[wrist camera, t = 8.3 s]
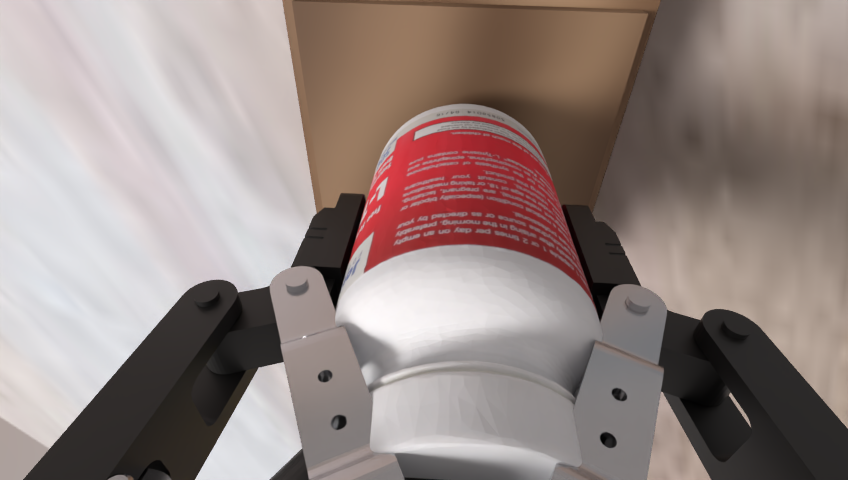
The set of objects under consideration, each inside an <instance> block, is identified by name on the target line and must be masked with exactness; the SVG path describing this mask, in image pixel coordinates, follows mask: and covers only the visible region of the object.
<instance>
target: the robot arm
mask: <svg viewBox="0 0 848 480" xmlns="http://www.w3.org/2000/svg"><path fill="white" fill-rule="evenodd" d="M365 204H366V197H365V194H356V193H341V194H340V196H339V199H338V201H337V204H336V207H335V208H326V207H324V208H323V209H322V210H321V211H319V212H318V213H317V214H316V215H315V216H314V217H313V219H312V221H311V223H310V226H309V229H308V230H307V232H306V235H305V238H304V239H303V241H302V244H301V246H300V248H299V250H298V253H297V255H296V257H295V259H294V262H293V264H292V266H291V268H289V269H286V270H284V271H282V272H280V273H279V274H278V275H276V276H275V277H274V278H273V280H272V281H271V284H270V286H268V287H265V288H261V289H255V290H250V291H244V292H239V293H238V291H237V289H236V287H235V286H234V285H233V284H232V283H231V282H228V281H225V280H210V281H206V282H203V283H200V284H198V285H196V286H194V287H192V288H190V289H189V290H188V291H187V292H186V293H185V294H184V295H183V296H182V297H181V298H180V299H179V300H178V301H177V303H176V304H175V305H174V306H173V307H172V308H171V309H170V311H169V312H168V313H167V314H166V315H165V316H164V318H163V319H162V320H161V321H160V322H159V323H158V324H157V326H156V327H155V328H154V329H153V330H152V331H151V333H150V334H149V335H148V336H147V337H146V338H145V340H144V341H143V342H142V343H141V344H140V345H139V346H138V348H137V349H136V350H135V351H134V352H133V353H132V355H131V356H130V357H129V358H128V359H127V360H126V361H125V363H124V364H123V365H122V366H121V367H120V368H119V370H118V371H117V372H116V373H115V374H114V375H113V376H112V378H111V379H110V380H109V381H108V382H107V383H106V385H105V386H104V387H103V388H102V389H101V390H100V391H99V393H98V394H97V395H96V396H95V397H94V398H93V400H92V401H91V402H90V403H89V404H88V405H87V407H86V408H85V409H84V410H83V411H82V412H81V413H80V415H79V416H78V417H77V418H76V419H75V420H74V422H73V423H72V424H71V425H70V426H69V427H68V428H67V430H66V431H65V432H64V433H63V434H62V435H61V437H60V438H59V439H58V440H57V441H56V442H55V443H54V445H53V446H52V447H51V448H50V449H49V450H48V452H47V453H46V454H45V455H44V456H43V457H42V458H41V460H40V461H39V462H38V463H37V464H36V465H35V467H34V468H33V469H32V470H31V471H30V472H29V474H28V475H27V476H26V477H25V478H24V479H23V480H195V479H196V477H197V475H198V473H199V472H200V470H201V468H202V466H203V464H204V463H205V461H206V459H207V457H208V456H209V454H210V452H211V450H212V449H213V447H214V445H215V443H216V442H217V440H218V438H219V436H220V435H221V433H222V431H223V429H224V428H225V426H226V424H227V422H228V421H229V419H230V417H231V415H232V413H233V412H234V410H235V408H236V406H237V405H238V403H239V401H240V399H241V398H242V396H243V394H244V392H245V391H246V389H247V387H248V385H249V384H250V382H251V380H252V378H253V377H254V375H255V373H256V371H257V369H258V367H263V366H267V365H272V364H276V363H281V362H284V364H285V369H286V374H287V378H288V383H289V388H290V392H291V397H292V402H293V406H294V411H295V415H296V420H297V425H298V429H299V434H300V439H301V443H302V449H301V450H300V451H299V452H298V453H297V454H296V455H295V456H294V457H293V458H292V459H291V460H290V461H289V462H288V463H287V464H285V465H284V466H283V467H282V468H281V469H280V470H279V471H278V472H277V473H276V474H275V475H274V476H273V477H272V478H271V479H270V480H439V479H423V478H407V477H403V474H402V471H401V469H400V466H399V463H398V461H397V459H396V456H395V454H394V453H377V452H373V451H371V449H370V434H371V423H372V409H373V401H372V398H371V396H370V393H369V390H368V387H367V385H366V382H365V379H364V377H363V374H362V371H361V369H360V366H359V363H358V361H357V358H356V355H355V353H354V350H353V347H352V344H351V342H350V339H349V336H348V334H347V331H346V329H345V327H344V325H340V326H336V323H335V316H336V311H335V309H336V305H337V302H338V298H339V294H340V291H341V287H342V284H343V280H344V277H345V273H346V270H347V267H348V263H349V260H350V256H351V253H352V248H353V245H354V242H355V238H356V234H357V231H358V227H359V224H360V221H361V217H362V213H363V210H364V207H365ZM561 208H562V211H563V214H564V217H565V220H566V223H567V226H568V229H569V232H570V235H571V238H572V241H573V244H574V247H575V249H576V252H577V255H578V258H579V261H580V264H581V267H582V269H583V272H584V275H585V278H586V281H587V284H588V287H589V290H590V293H591V295H592V298H593V302H594V304H595V307H596V311H597V314H598V318H599V322H600V326H601V330H602V335H603V337H602V342H600V341H598V340H595V342H594V345H593V348H592V351H591V353H590V356H589V359H588V361H587V364H586V366H585V369H584V371H583V374H582V376H581V379H580V381H579V384H578V386H577V389H576V391H575V394H574V397H575V398H576V400H575V403H574V409H573V416H574V422H575V427H576V432H577V437H578V442H579V448H580V454H581V459H582V464H581V465H580V466H579V467H574V466H569V465H565V464H558V463H556V465H555V467H554V470H553V472H552V474H551V476H550V478H549V480H647V475H648V469H649V463H650V456H651V450H652V444H653V438H654V431H655V425H656V419H657V413H658V406H659V400H660V394H661V392H663V393H664V395H665V397H666V399H667V401H668V403H669V404H670V406H671V408H672V410H673V412H674V413H675V415H676V417H677V419H678V421H679V422H680V424H681V426H682V428H683V429H684V431H685V433H686V435H687V437H688V438H689V440H690V442H691V444H692V446H693V447H694V449H695V451H696V453H697V455H698V456H699V458H700V460H701V462H702V464H703V465H704V467H705V469H706V471H707V473H708V474H709V476H710V478H711V480H848V429H847V428H846V426H845V425H844V424H843V423H842V422H841V421H840V419H839V418H838V417H837V416H836V415H835V414H834V413H833V411H832V410H831V409H830V408H829V407H828V406H827V404H826V403H825V402H824V401H823V400H822V399H821V398H820V396H819V395H818V394H817V393H816V392H815V391H814V389H813V388H812V387H811V386H810V385H809V384H808V383H807V381H806V380H805V379H804V378H803V377H802V376H801V374H800V373H799V372H798V371H797V370H796V369H795V368H794V366H793V365H792V364H791V363H790V362H789V361H788V359H787V358H786V357H785V356H784V355H783V354H782V353H781V351H780V350H779V349H778V348H777V347H776V346H775V344H774V343H773V342H772V341H771V340H770V339H769V338H768V336H767V335H766V334H765V333H764V332H763V331H762V329H761V328H760V327H759V326H758V325H756V324H755V323H754V322H753V321H751V320H750V319H748V318H746V317H745V316H743V315H741V314H738V313H736V312H733V311H729V310H724V309H714V310H710V311H708V312H706V313H705V314H704V316H703V317H702V319H701V320H698V319H694V318H691V317H687V316H684V315H680V314H677V313H674V312H671V311H669V310H667V308H666V305H665V303H664V302H663V300H662V299H661V298H660V297H659V296H658V295H656V294H655V293H654V292H652V291H650V290H649V289H647V288H644V287H641V285H640V283H639V281H638V278H637V276H636V274H635V272H634V270H633V268H632V266H631V264H630V262H629V260H628V258H627V256H625V251H624V249H623V247H622V246H621V243H620V241H619V239H618V237H617V235H616V233H615V232H614V231H613V230H612V229H611V228H610V227H609V226H608V225H606V224H605V223H604V222H595V219H594V217H593V215H592V213H591V210H590V208H589V206H587V205H567V204H563V205H562V206H561ZM730 393H732V395H733V396H734V397H735V399H736V400H737V402H738V403H739V405H740V406H741V408H742V409H743V410H744V412H745V413H746V415H747V416H748V418H749V421H750V424H751V427H750V426H749V425H748V423H747V422H746V420H745V419H744V417H743V416H742V414H741V413H740V411H739V410H738V409H737V407H736V406H735V404H734V403H733V401H732V400H731V398H730V397H729V394H730Z"/></svg>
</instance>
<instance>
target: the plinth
mask: <svg viewBox="0 0 848 480" xmlns="http://www.w3.org/2000/svg"><path fill="white" fill-rule="evenodd" d="M282 1H283V7H284V13H285V19H286V25H287V32H288V38H289V44H290V50H291V56H292V63H293V69H294V75H295V81H296V87H297V94H298V100H299V106H300V112H301V118H302V125H303V131H304V137H305V143H306V149H307V156H308V162H309V168H310V174H311V180H312V186H313V193H314V199H315V205H316V211H317V213H318V212H319V211H321V210H322V209H323V208H324V207H326V208H335V207H336V204H337V201H338V199H339V196H340V194H341V193H356V194H365V197H366V201H367V197H368V194H369V190H370V187H371V184H372V180H373V177H374V174H375V170H376V167H377V164H378V161H379V159H380V157H381V154H382V152H383V150H384V148H385V146H386V145H387V143H388V141H389V140H390V138H391V137H392V136H393V135H394V134H395V132H396V131H397V130H398V129H399V128H400V127H401V126H403V125H404V124H405V123H406V122H407V121H409V120H410V119H412V118H414V117H415V116H417V115H419V114H421V113H423V112H425V111H428V110H430V109H433V108H436V107H441V106H446V105H452V104H475V105H481V106H486V107H489V108H493V109H495V110H498V111H500V112H503V113H505V114H507V115H508V116H510V117H512V118H513V119H515V120H516V121H517V122H519V123H520V124H521V125H523V126H524V127H525V128H526V129H527V130H528V131H529V132H530V134H531V135H532V136H533V137H534V139H535V140H536V142H537V144H538V146H539V147H540V149H541V151H542V154H543V156H544V158H545V161H546V163H547V166H548V169H549V172H550V175H551V178H552V182H553V184H554V187H555V190H556V193H557V196H558V199H559V202H560V205H561V206H562V205H563V204H567V205H587V206H589V208H590V210H591V213H592V212H593V209H594V206H595V203H596V200H597V196H598V193H599V190H600V187H601V184H602V181H603V178H604V175H605V172H606V169H607V165H608V162H609V159H610V156H611V153H612V150H613V147H614V144H615V141H616V138H617V134H618V131H619V128H620V125H621V122H622V119H623V116H624V113H625V110H626V107H627V104H628V100H629V97H630V94H631V91H632V88H633V85H634V82H635V79H636V76H637V73H638V69H639V66H640V63H641V60H642V57H643V54H644V51H645V48H646V45H647V42H648V38H649V35H650V32H651V29H652V26H653V23H654V20H655V17H656V14H657V11H658V7H659V4H660V1H661V0H282Z"/></svg>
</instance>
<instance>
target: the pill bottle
mask: <svg viewBox="0 0 848 480" xmlns="http://www.w3.org/2000/svg"><path fill="white" fill-rule="evenodd" d="M335 311H336V316H335V323H336V326H340V325H344V327H345V329H346V331H347V334H348V336H349V339H350V342H351V344H352V347H353V350H354V353H355V355H356V358H357V361H358V363H359V366H360V369H361V371H362V374H363V377H364V379H365V382H366V385H367V387H368V390H369V393H370V396H371V398H372V401H373V409H372V423H371V434H370V449H371V451H373V452H377V453H394V454H395V456H396V459H397V461H398V463H399V466H400V469H401V471H402V474H403V477H407V478H423V479H439V480H549V478H550V476H551V474H552V472H553V470H554V467H555V465H556V463H558V464H565V465H569V466H574V467H579V466H580V465H581V464H582V459H581V454H580V448H579V442H578V437H577V432H576V427H575V422H574V416H573V409H574V403H575V400H576V398H575V397H574V394H575V391H576V389H577V386H578V384H579V381H580V379H581V376H582V374H583V371H584V369H585V366H586V364H587V361H588V359H589V356H590V353H591V351H592V348H593V345H594V342H595V340H598V341H600V342H602V337H603V335H602V330H601V326H600V322H599V318H598V314H597V311H596V307H595V304H594V302H593V298H592V295H591V293H590V290H589V287H588V284H587V281H586V278H585V275H584V272H583V269H582V267H581V264H580V261H579V258H578V255H577V252H576V249H575V247H574V244H573V241H572V238H571V235H570V232H569V229H568V226H567V223H566V220H565V217H564V214H563V211H562V208H561V205H560V202H559V199H558V196H557V193H556V190H555V187H554V184H553V182H552V178H551V175H550V172H549V169H548V166H547V163H546V161H545V158H544V156H543V154H542V151H541V149H540V147H539V146H538V144H537V142H536V140H535V139H534V137H533V136H532V135H531V134H530V132H529V131H528V130H527V129H526V128H525V127H524V126H523V125H521V124H520V123H519V122H517V121H516V120H515V119H513V118H512V117H510V116H508V115H507V114H505V113H503V112H500V111H498V110H495V109H493V108H489V107H486V106H481V105H475V104H452V105H446V106H441V107H436V108H433V109H430V110H428V111H425V112H423V113H421V114H419V115H417V116H415V117H414V118H412V119H410V120H409V121H407V122H406V123H405V124H404V125H403V126H401V127H400V128H399V129H398V130H397V131H396V132H395V134H394V135H393V136H392V137H391V138H390V140H389V141H388V143H387V145H386V146H385V148H384V150H383V152H382V154H381V157H380V159H379V161H378V164H377V167H376V170H375V174H374V177H373V180H372V184H371V187H370V190H369V194H368V197H367V201H366V204H365V207H364V210H363V213H362V217H361V221H360V224H359V227H358V231H357V234H356V238H355V242H354V245H353V248H352V253H351V256H350V260H349V263H348V267H347V270H346V273H345V277H344V280H343V284H342V287H341V291H340V294H339V298H338V302H337V305H336V309H335Z"/></svg>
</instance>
